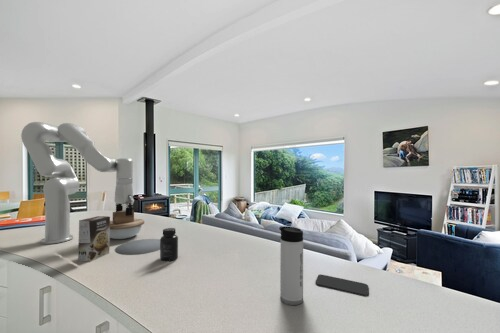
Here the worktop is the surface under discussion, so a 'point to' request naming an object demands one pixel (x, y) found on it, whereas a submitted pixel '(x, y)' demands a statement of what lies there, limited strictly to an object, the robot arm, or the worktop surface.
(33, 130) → the robot arm
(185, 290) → the worktop surface
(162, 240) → the supplement bottle
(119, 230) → the cereal bowl
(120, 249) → the tray
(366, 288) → the phone
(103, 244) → the coffee box
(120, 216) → the lid
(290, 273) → the travel mug
